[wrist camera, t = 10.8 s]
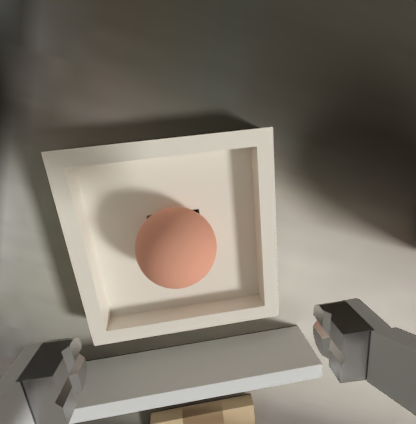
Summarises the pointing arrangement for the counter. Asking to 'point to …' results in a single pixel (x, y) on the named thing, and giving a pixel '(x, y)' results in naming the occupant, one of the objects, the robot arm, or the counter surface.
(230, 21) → the counter surface
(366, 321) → the robot arm
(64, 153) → the dish
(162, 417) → the square block with hole
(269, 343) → the divider
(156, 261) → the ball
